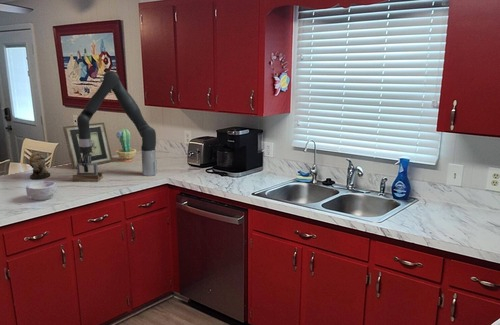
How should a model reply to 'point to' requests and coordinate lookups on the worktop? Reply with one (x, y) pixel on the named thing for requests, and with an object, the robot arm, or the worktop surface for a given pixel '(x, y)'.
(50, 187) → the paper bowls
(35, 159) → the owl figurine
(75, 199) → the worktop surface
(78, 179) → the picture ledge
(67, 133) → the picture frame
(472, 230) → the worktop surface
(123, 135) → the potted cactus
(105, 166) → the worktop surface
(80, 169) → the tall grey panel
